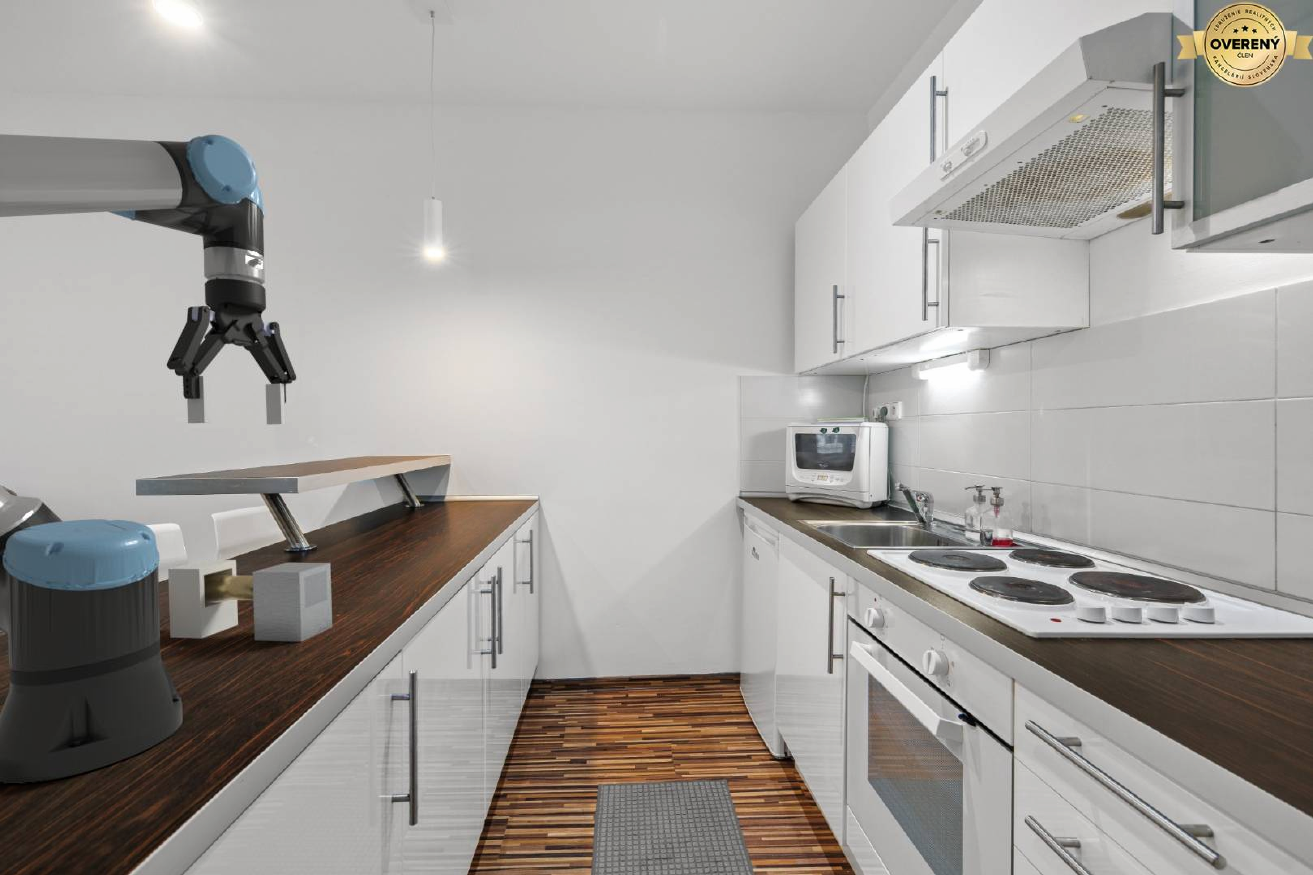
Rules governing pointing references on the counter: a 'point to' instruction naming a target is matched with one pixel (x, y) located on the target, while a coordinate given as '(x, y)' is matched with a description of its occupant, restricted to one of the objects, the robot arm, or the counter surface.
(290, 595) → the grey block
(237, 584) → the mottled khaki block
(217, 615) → the socket
